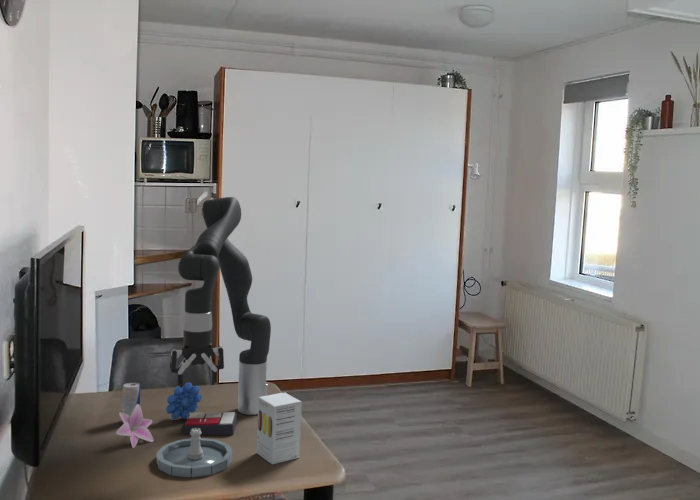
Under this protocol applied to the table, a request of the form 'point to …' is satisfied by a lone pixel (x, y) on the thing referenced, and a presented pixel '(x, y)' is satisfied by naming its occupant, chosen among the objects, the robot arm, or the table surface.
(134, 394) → the energy drink
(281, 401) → the supplement box
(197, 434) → the rook chess piece
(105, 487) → the table surface
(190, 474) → the round tray
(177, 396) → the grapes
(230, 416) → the calculator
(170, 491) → the table surface
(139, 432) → the lily
